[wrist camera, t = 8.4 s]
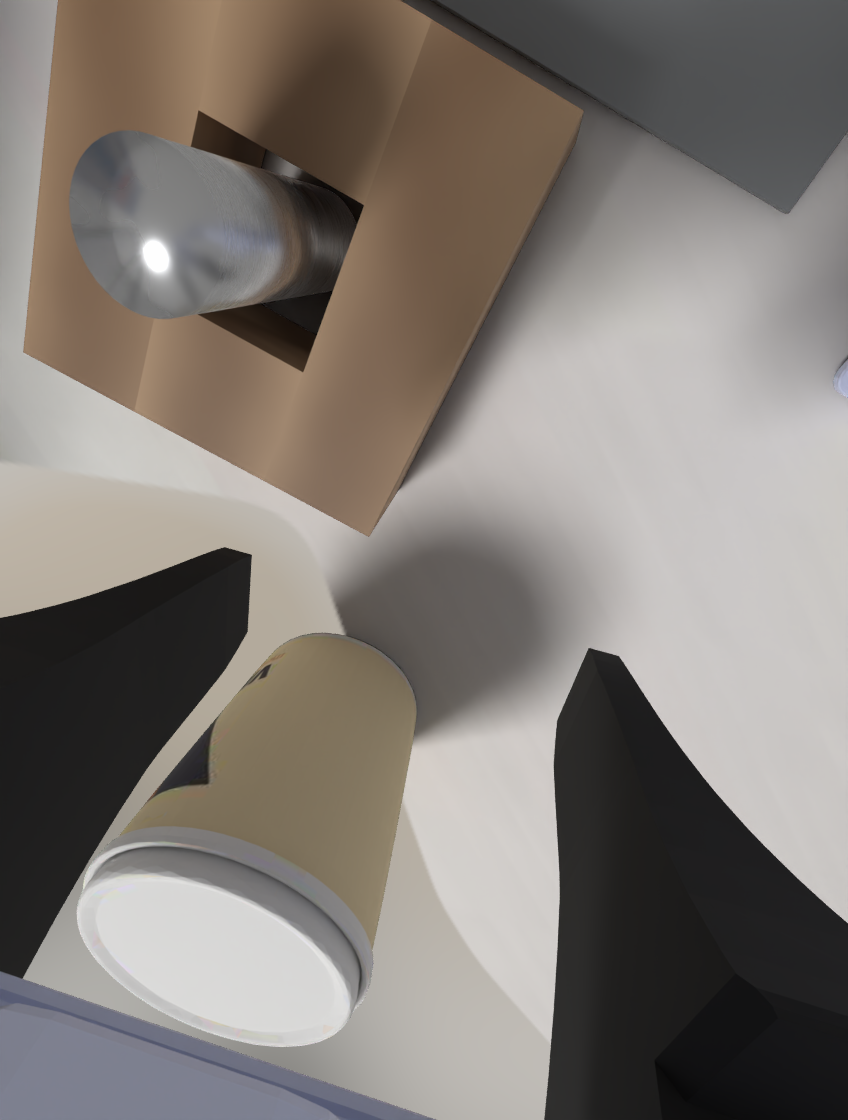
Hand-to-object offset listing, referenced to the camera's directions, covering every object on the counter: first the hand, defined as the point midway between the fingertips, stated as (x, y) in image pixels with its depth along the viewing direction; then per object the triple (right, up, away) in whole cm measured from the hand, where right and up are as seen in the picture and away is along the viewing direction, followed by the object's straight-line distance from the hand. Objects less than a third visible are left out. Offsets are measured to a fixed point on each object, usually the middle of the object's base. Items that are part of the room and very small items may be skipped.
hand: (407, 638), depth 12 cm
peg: (-3, +12, +6) cm, 14 cm away
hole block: (-3, +12, +7) cm, 14 cm away
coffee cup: (-4, -5, +16) cm, 17 cm away
